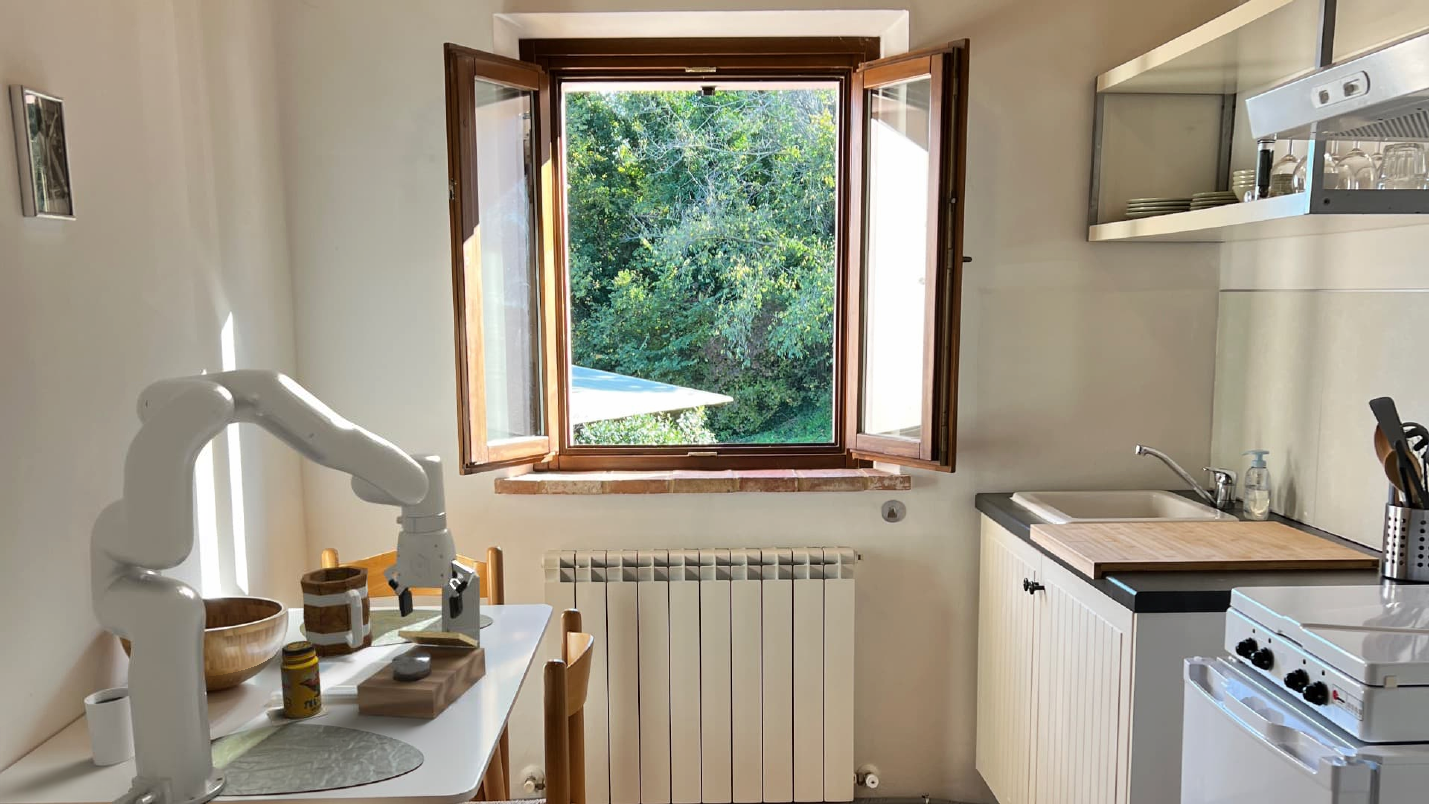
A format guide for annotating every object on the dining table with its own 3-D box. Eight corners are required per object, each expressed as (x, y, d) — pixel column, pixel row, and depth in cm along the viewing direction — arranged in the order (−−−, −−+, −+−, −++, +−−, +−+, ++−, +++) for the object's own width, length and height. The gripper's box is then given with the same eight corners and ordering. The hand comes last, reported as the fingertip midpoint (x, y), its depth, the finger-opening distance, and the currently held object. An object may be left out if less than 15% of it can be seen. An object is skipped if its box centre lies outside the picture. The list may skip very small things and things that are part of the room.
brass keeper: (458, 638, 175) (459, 631, 175) (397, 636, 177) (398, 629, 178) (479, 647, 183) (480, 641, 183) (420, 645, 185) (421, 638, 186)
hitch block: (434, 718, 164) (432, 690, 163) (358, 714, 167) (356, 686, 166) (485, 673, 183) (484, 648, 183) (417, 670, 186) (415, 644, 186)
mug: (296, 645, 203) (290, 574, 201) (361, 630, 211) (356, 562, 209) (326, 671, 187) (320, 595, 186) (395, 653, 196) (390, 580, 194)
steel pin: (422, 710, 167) (419, 665, 166) (388, 708, 168) (384, 664, 168) (439, 695, 173) (437, 652, 173) (406, 694, 175) (404, 650, 174)
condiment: (328, 714, 167) (323, 646, 166) (274, 727, 162) (269, 657, 161) (319, 700, 173) (314, 635, 172) (267, 712, 169) (261, 645, 167)
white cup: (119, 745, 158) (114, 685, 156) (149, 750, 155) (143, 690, 154) (80, 763, 151) (73, 701, 150) (110, 769, 149) (104, 706, 148)
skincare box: (441, 644, 200) (436, 568, 199) (476, 638, 203) (472, 563, 202) (448, 657, 193) (443, 578, 191) (484, 650, 196) (480, 573, 194)
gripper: (369, 527, 173) (377, 621, 175) (459, 528, 170) (466, 624, 172) (391, 517, 181) (398, 607, 183) (478, 518, 177) (484, 610, 179)
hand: (431, 615), depth 177 cm, fingers open, 9 cm apart
